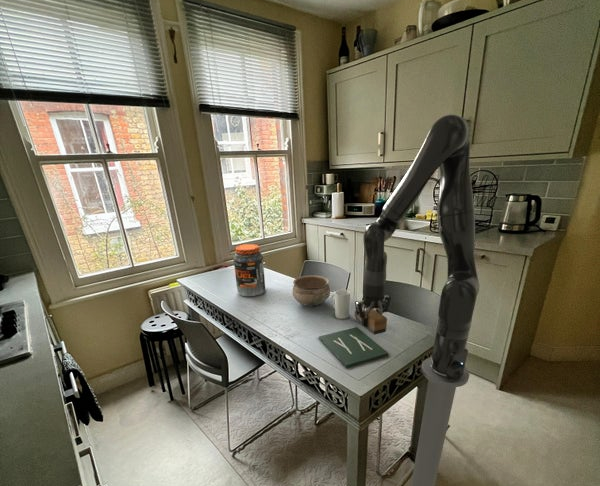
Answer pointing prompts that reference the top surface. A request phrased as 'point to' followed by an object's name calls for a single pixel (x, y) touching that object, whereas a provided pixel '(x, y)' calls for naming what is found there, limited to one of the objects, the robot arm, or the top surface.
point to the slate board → (352, 347)
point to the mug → (341, 303)
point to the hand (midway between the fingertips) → (371, 324)
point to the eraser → (375, 322)
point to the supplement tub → (249, 270)
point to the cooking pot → (311, 290)
